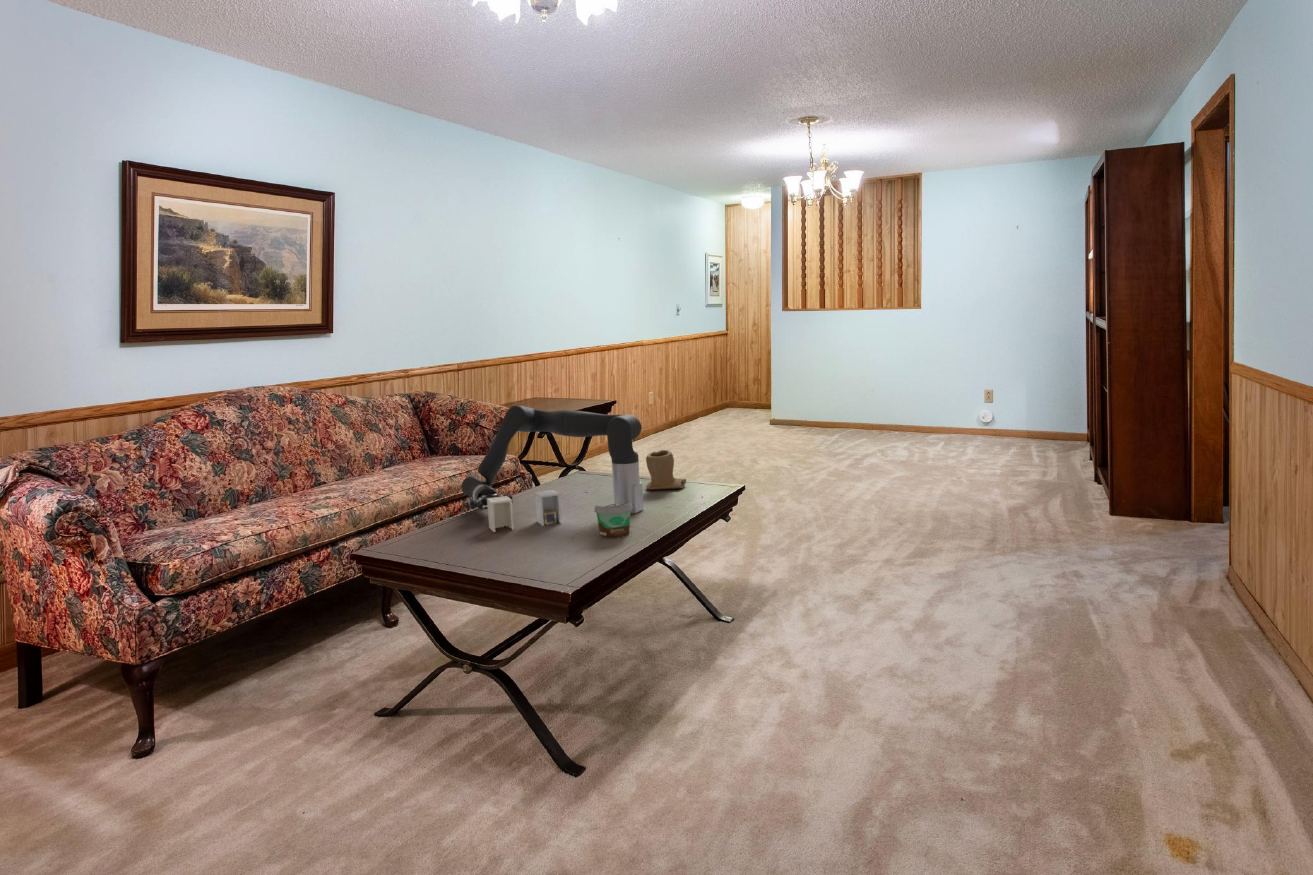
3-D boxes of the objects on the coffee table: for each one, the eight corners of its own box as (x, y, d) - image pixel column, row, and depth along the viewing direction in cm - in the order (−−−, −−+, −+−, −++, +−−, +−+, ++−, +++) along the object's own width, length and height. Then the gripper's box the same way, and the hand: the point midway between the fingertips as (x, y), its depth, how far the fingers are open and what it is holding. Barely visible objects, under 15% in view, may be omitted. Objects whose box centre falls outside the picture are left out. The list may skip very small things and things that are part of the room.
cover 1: (509, 525, 280) (507, 495, 278) (513, 529, 274) (511, 499, 272) (489, 528, 277) (486, 498, 276) (493, 532, 271) (491, 502, 270)
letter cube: (553, 520, 284) (552, 509, 284) (556, 523, 280) (556, 511, 280) (541, 522, 283) (541, 510, 282) (545, 524, 279) (544, 513, 278)
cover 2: (556, 518, 286) (554, 489, 284) (561, 523, 280) (559, 493, 278) (536, 521, 283) (534, 492, 282) (542, 525, 277) (540, 495, 276)
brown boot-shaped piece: (644, 493, 320) (642, 453, 318) (648, 486, 332) (646, 448, 330) (684, 492, 318) (682, 452, 316) (686, 485, 330) (685, 447, 328)
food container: (604, 541, 255) (602, 509, 253) (595, 537, 260) (593, 505, 259) (640, 534, 260) (639, 503, 259) (631, 530, 266) (630, 499, 264)
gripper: (463, 488, 294) (472, 496, 279) (504, 483, 299) (515, 491, 284) (465, 509, 295) (474, 519, 280) (506, 504, 300) (516, 513, 285)
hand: (494, 505), depth 282 cm, fingers open, 8 cm apart
